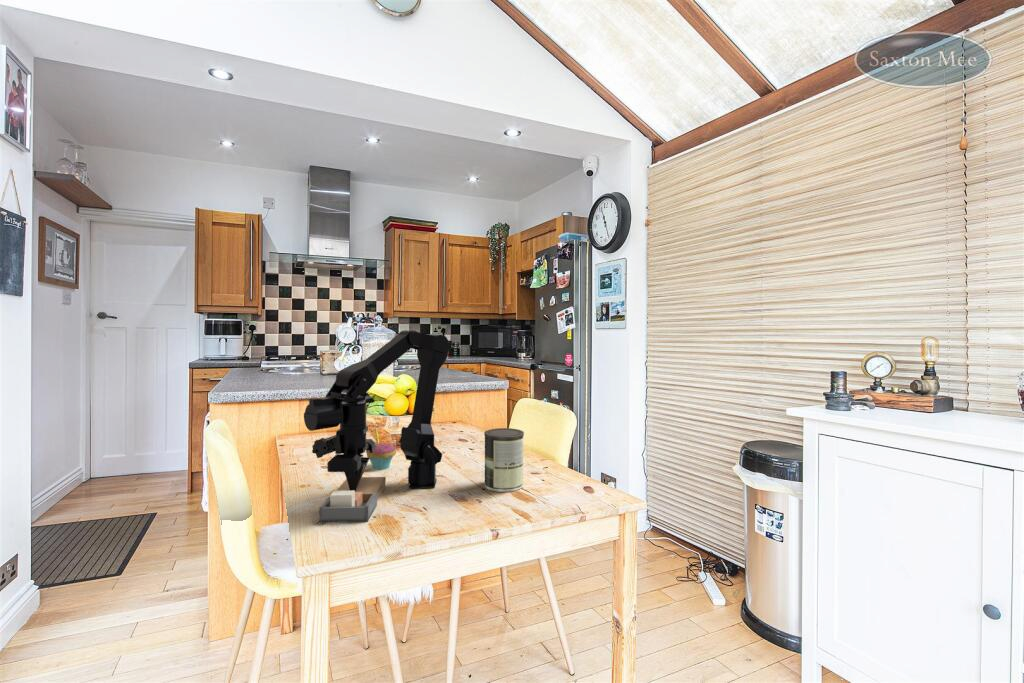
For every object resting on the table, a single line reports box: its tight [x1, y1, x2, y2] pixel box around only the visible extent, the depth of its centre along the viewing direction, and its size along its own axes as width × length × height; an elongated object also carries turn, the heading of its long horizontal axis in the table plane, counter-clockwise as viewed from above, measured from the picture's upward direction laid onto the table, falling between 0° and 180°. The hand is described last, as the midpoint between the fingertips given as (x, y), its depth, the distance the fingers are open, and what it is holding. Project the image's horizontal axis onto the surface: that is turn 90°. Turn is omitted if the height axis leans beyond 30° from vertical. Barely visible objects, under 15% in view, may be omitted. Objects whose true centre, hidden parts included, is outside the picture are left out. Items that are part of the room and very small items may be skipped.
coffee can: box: [483, 427, 525, 493], centre depth 126 cm, size 10×10×14 cm
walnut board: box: [336, 476, 387, 503], centre depth 118 cm, size 10×13×2 cm
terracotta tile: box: [355, 492, 363, 506], centre depth 108 cm, size 4×4×2 cm
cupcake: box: [365, 426, 397, 470], centre depth 142 cm, size 9×8×12 cm
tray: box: [318, 492, 378, 524], centre depth 106 cm, size 10×10×3 cm
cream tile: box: [329, 490, 355, 507], centre depth 105 cm, size 4×4×2 cm
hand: (353, 491), depth 111 cm, fingers closed
